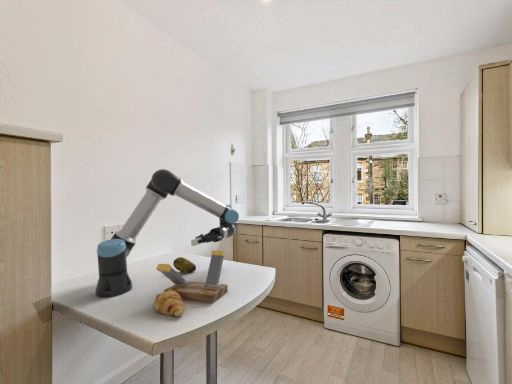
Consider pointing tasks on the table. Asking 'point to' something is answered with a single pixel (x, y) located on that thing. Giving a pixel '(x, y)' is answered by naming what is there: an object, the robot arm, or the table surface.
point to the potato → (184, 265)
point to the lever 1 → (171, 274)
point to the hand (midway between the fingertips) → (192, 243)
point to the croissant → (169, 303)
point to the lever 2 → (214, 269)
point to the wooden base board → (199, 291)
